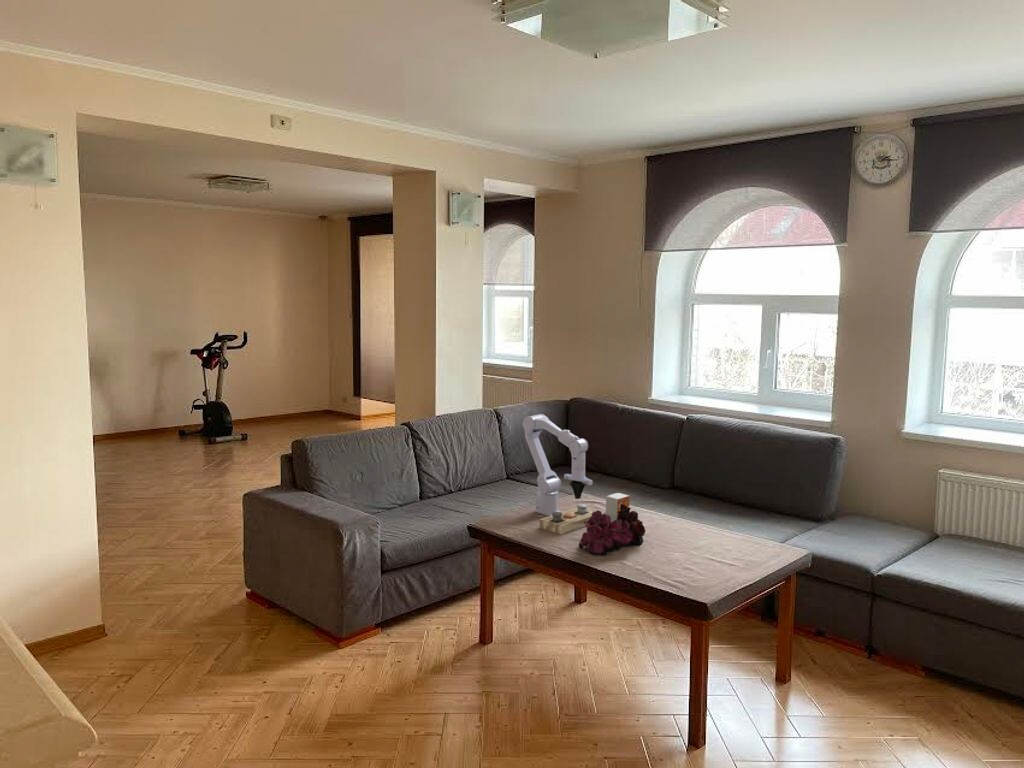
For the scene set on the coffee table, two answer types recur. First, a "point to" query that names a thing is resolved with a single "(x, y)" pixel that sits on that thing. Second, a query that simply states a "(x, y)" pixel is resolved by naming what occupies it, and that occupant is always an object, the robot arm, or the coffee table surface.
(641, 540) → the flower arrangement
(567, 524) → the button board
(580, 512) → the knob
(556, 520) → the plunger charcoal
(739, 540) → the coffee table surface
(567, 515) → the plunger terracotta
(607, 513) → the small box
